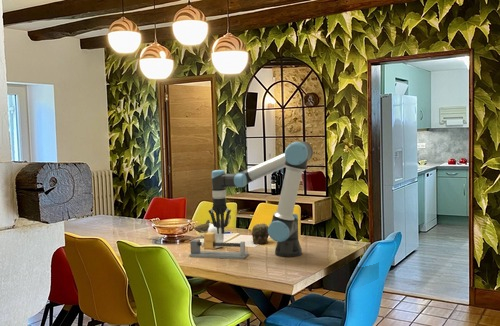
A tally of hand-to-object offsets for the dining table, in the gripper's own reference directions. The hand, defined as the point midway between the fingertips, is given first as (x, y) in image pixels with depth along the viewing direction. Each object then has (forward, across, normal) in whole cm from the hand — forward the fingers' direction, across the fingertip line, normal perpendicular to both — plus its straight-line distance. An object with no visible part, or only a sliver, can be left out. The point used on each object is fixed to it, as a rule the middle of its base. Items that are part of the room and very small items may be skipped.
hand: (221, 239), depth 283 cm
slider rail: (+9, +2, 0) cm, 10 cm away
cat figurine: (+10, +10, -20) cm, 24 cm away
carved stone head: (+10, -14, -35) cm, 39 cm away
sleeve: (+5, +7, 0) cm, 9 cm away
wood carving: (+9, +24, -56) cm, 62 cm away
